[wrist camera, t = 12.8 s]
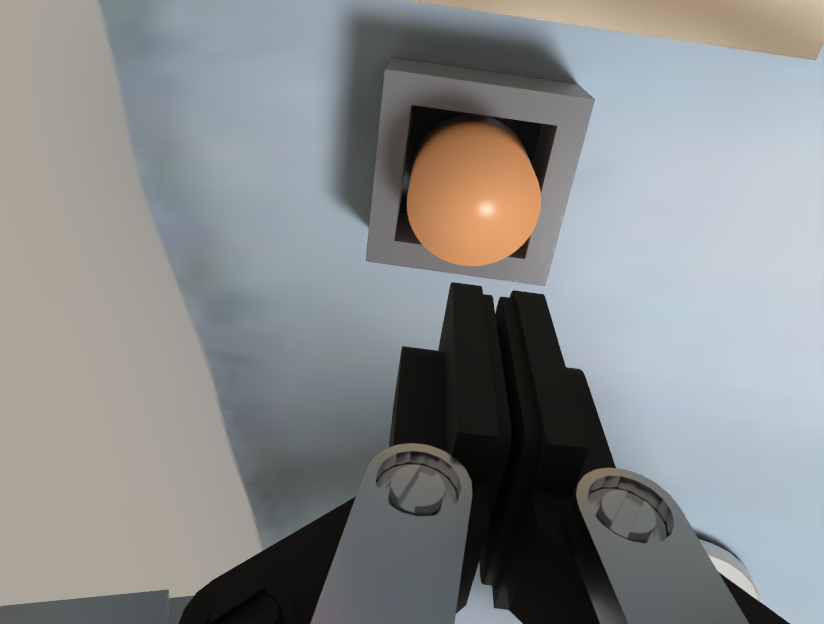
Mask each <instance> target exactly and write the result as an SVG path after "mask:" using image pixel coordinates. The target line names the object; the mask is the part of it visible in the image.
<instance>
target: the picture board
mask: <svg viewBox="0 0 824 624" xmlns="http://www.w3.org/2000/svg"><path fill="white" fill-rule="evenodd" d="M408 1H415V2H421V3H428V4H435V5H442V6H449V7H456V8H462V9H469V10H476V11H483V12H490V13H496V14H503V15H510V16H517V17H524V18H531V19H537V20H544V21H551V22H558V23H565V24H571V25H578V26H585V27H592V28H599V29H606V30H612V31H619V32H626V33H633V34H640V35H646V36H653V37H660V38H667V39H674V40H681V41H687V42H694V43H701V44H708V45H715V46H721V47H728V48H735V49H742V50H749V51H756V52H762V53H769V54H776V55H783V56H790V57H796V58H803V59H810V60H816V59H817V57H818V54H819V52H820V50H821V47H822V45H823V43H824V0H408Z"/></svg>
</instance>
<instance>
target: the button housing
mask: <svg viewBox="0 0 824 624" xmlns="http://www.w3.org/2000/svg"><path fill="white" fill-rule="evenodd" d="M594 101H595V99H594V98H593V97H592V96H590V95H589V94H588V93H587V92H586V91H585V90H584V89H583V88H582V87H581V86H580V85H578V84H573V83H566V82H560V81H553V80H546V79H539V78H532V77H525V76H518V75H511V74H504V73H497V72H491V71H484V70H477V69H470V68H463V67H456V66H449V65H442V64H435V63H428V62H422V61H415V60H408V59H401V58H394V57H392V58H391V60H390V61H389V63H388V65H387V66H386V68H385V72H384V82H383V92H382V102H381V112H380V122H379V132H378V142H377V152H376V162H375V172H374V182H373V192H372V202H371V212H370V223H369V233H368V243H367V253H366V261H368V262H375V263H382V264H389V265H397V266H404V267H411V268H418V269H426V270H433V271H440V272H447V273H454V274H462V275H469V276H476V277H483V278H490V279H498V280H505V281H512V282H519V283H526V284H534V285H541V286H545V284H546V281H547V277H548V273H549V269H550V266H551V262H552V258H553V254H554V251H555V247H556V243H557V239H558V236H559V232H560V228H561V224H562V221H563V217H564V213H565V209H566V206H567V202H568V198H569V194H570V191H571V187H572V183H573V179H574V176H575V172H576V168H577V164H578V161H579V157H580V153H581V149H582V146H583V142H584V138H585V134H586V131H587V127H588V123H589V119H590V116H591V112H592V108H593V104H594ZM413 105H416V106H423V107H430V108H437V109H444V110H451V111H458V112H465V113H472V114H479V115H486V116H493V117H500V118H507V119H514V120H521V121H528V122H535V123H542V125H541V129H540V133H539V138H538V142H537V146H536V151H535V155H534V159H533V164H532V167H533V170H534V172H535V175H536V177H537V180H538V183H539V187H540V192H541V209H540V214H539V218H538V221H537V224H536V226H535V228H534V230H533V232H532V233H531V235H530V236H529V238H528V239H527V240H526V242H525V243H524V244H523V245H522V246H521V247H520V248H519V249H518V250H516V251H515V252H514V253H512V254H511V255H509V256H508V257H506V258H504V259H502V260H499V261H497V262H494V263H491V264H487V265H481V266H462V265H457V264H453V263H450V262H447V261H445V260H442V259H440V258H438V257H437V256H435V255H434V254H432V253H431V252H430V251H429V250H427V249H426V248H425V247H424V246H423V245H422V244H421V243H420V241H419V240H418V238H417V237H416V235H415V233H414V232H413V230H412V227H411V225H410V222H409V218H408V214H404V213H400V208H401V200H402V192H403V184H404V176H405V168H406V160H407V151H408V143H409V135H410V127H411V119H412V111H413Z"/></svg>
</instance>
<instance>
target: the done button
mask: <svg viewBox="0 0 824 624" xmlns="http://www.w3.org/2000/svg"><path fill="white" fill-rule="evenodd" d="M540 209H541V192H540V187H539V183H538V180H537V177H536V175H535V172H534V170H533V167H532V165H531V163H530V160H529V158H528V155H527V153H526V151H525V148H524V146H523V144H522V142H521V141H520V139H519V138H518V136H517V135H516V134H515V133H514V132H513V131H512V130H511V129H510V128H509V127H508V126H506V125H505V124H504V123H502V122H500V121H498V120H496V119H494V118H491V117H488V116H483V115H475V114H470V115H461V116H457V117H454V118H451V119H448V120H446V121H444V122H442V123H441V124H439V125H438V126H436V127H435V128H434V129H433V130H431V131H430V132H429V133H428V134H427V136H426V137H425V138H424V139H423V141H422V142H421V144H420V146H419V148H418V150H417V152H416V155H415V158H414V162H413V167H412V173H411V178H410V184H409V189H408V195H407V213H408V218H409V222H410V225H411V227H412V230H413V232H414V233H415V235H416V237H417V238H418V240H419V241H420V243H421V244H422V245H423V246H424V247H425V248H426V249H427V250H429V251H430V252H431V253H432V254H434V255H435V256H437V257H438V258H440V259H442V260H445V261H447V262H450V263H453V264H457V265H462V266H481V265H487V264H491V263H494V262H497V261H499V260H502V259H504V258H506V257H508V256H509V255H511V254H512V253H514V252H515V251H516V250H518V249H519V248H520V247H521V246H522V245H523V244H524V243H525V242H526V240H527V239H528V238H529V236H530V235H531V233H532V232H533V230H534V228H535V226H536V224H537V221H538V218H539V214H540Z"/></svg>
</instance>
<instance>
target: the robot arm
mask: <svg viewBox="0 0 824 624" xmlns="http://www.w3.org/2000/svg"><path fill="white" fill-rule="evenodd" d="M478 562H479V563H480V577H481V583H482V584H485V585H492V589H493V601H494V608H498V609H507V610H509V611H511V612H512V613H513V614H514V615H515V616H516V617H517V618H518V619H519V620H520V621H521V622H522V623H523V624H790V623H788V622H787V621H785V620H784V619H783V618H781V617H780V616H779V615H777V614H776V613H774V612H773V611H772V610H770V609H769V608H768V607H766V606H765V605H763V604H762V603H761V602H760V601H759V594H758V591H757V589H756V587H755V585H754V583H753V580H752V578H751V576H750V574H749V573H748V571H747V570H746V568H745V567H744V566H743V564H742V563H741V562H740V561H739V560H738V559H737V558H735V557H734V556H733V555H732V554H731V553H730V552H728V551H726V550H724V549H722V548H720V547H718V546H717V545H715V544H712V543H709V542H706V541H703V540H700V539H698V537H697V536H696V534H695V532H694V531H693V529H692V527H691V526H690V524H689V522H688V520H687V519H686V517H685V515H684V514H683V512H682V510H681V509H680V507H679V506H678V505H677V503H676V502H675V501H674V500H673V498H672V497H671V496H670V495H669V494H668V493H667V492H666V491H665V490H663V489H662V488H661V487H660V486H659V485H657V484H656V483H654V482H653V481H651V480H649V479H647V478H645V477H644V476H642V475H639V474H636V473H634V472H631V471H628V470H624V469H617V468H616V467H615V464H614V461H613V458H612V455H611V452H610V449H609V446H608V443H607V440H606V437H605V434H604V431H603V428H602V425H601V422H600V419H599V416H598V413H597V410H596V407H595V404H594V401H593V398H592V395H591V392H590V389H589V386H588V383H587V380H586V377H585V375H584V373H583V371H582V370H580V369H574V368H566V367H565V363H564V360H563V356H562V353H561V350H560V346H559V343H558V339H557V336H556V333H555V329H554V326H553V322H552V319H551V316H550V312H549V309H548V305H547V302H546V299H545V296H544V294H537V293H529V292H521V291H514V290H513V291H512V293H511V295H510V298H507V297H500V299H499V301H498V305H497V309H496V314H495V310H494V303H493V297H492V295H485V294H483V291H482V286H476V285H469V284H461V283H454V282H452V283H451V285H450V290H449V295H448V300H447V306H446V311H445V317H444V322H443V328H442V333H441V339H440V344H439V350H438V351H435V350H427V349H419V348H412V347H404V346H402V350H401V357H400V363H399V370H398V377H397V384H396V392H395V399H394V407H393V415H392V424H391V433H390V443H389V448H387V449H384V450H382V451H381V452H380V453H378V454H377V455H376V456H375V457H373V458H372V460H371V461H370V463H369V465H368V466H367V468H366V470H365V473H364V475H363V478H362V481H361V484H360V486H359V489H358V492H357V495H356V497H354V498H353V499H351V500H349V501H348V502H346V503H344V504H342V505H341V506H339V507H337V508H336V509H334V510H332V511H330V512H329V513H327V514H325V515H324V516H322V517H320V518H318V519H317V520H315V521H313V522H312V523H310V524H308V525H306V526H305V527H303V528H301V529H300V530H298V531H296V532H294V533H293V534H291V535H289V536H288V537H286V538H284V539H282V540H281V541H279V542H277V543H276V544H274V545H272V546H270V547H269V548H267V549H265V550H264V551H262V552H260V553H259V554H257V555H255V556H253V557H252V558H250V559H248V560H246V561H245V562H243V563H241V564H240V565H238V566H236V567H234V568H233V569H231V570H229V571H228V572H226V573H224V574H223V575H221V576H219V577H217V578H216V579H214V580H212V581H211V582H210V583H209V584H207V585H206V586H205V587H203V588H202V589H201V590H199V591H198V592H197V593H196V594H195V596H187V597H177V598H170V597H169V590H160V591H150V592H140V593H129V594H119V595H109V596H98V597H88V598H78V599H69V600H58V601H48V602H37V603H27V604H17V605H7V606H1V607H0V624H454V622H455V615H456V613H457V612H459V611H460V610H461V609H462V608H463V607H464V606H466V603H467V600H468V596H469V593H470V589H471V586H472V582H473V580H474V576H475V573H476V569H477V566H478Z"/></svg>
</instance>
